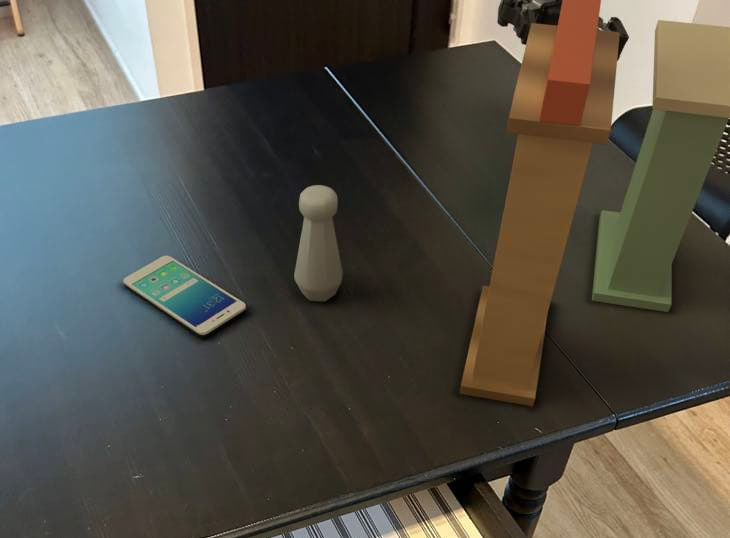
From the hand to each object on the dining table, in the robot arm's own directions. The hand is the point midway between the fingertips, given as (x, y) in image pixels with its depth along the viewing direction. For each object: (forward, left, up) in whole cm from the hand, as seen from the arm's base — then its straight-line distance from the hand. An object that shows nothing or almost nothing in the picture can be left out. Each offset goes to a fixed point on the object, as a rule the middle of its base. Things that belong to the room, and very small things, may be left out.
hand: (567, 46), depth 87 cm
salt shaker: (+15, +23, -24) cm, 37 cm away
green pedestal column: (-13, -5, -24) cm, 28 cm away
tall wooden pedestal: (-8, +18, -24) cm, 31 cm away
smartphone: (+27, +34, -24) cm, 50 cm away
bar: (-6, +14, +6) cm, 16 cm away
